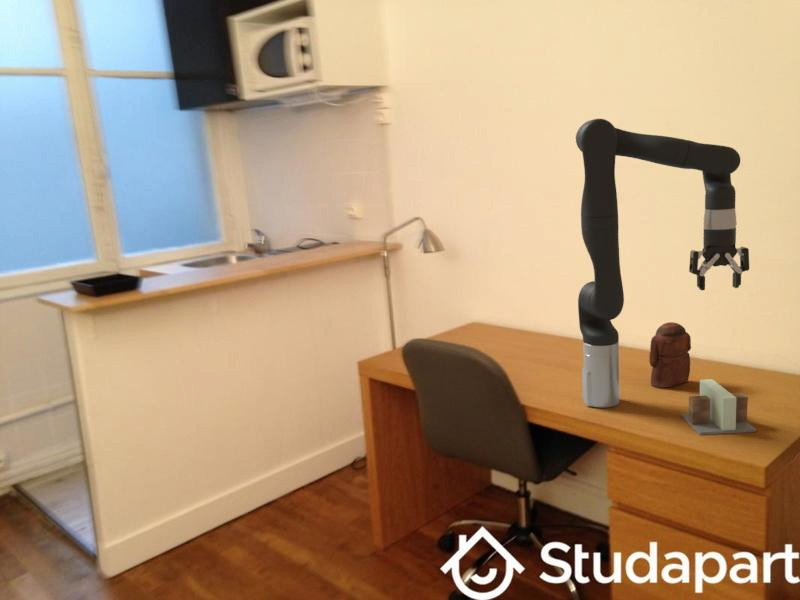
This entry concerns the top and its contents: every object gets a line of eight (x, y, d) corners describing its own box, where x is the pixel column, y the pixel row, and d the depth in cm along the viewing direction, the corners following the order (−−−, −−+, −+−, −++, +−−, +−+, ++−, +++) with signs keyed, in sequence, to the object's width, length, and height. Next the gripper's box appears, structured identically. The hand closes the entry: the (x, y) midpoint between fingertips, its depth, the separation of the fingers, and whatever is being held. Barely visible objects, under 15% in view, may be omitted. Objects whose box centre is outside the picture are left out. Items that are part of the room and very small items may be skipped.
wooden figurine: (675, 376, 205) (676, 317, 202) (692, 382, 200) (693, 321, 196) (645, 384, 201) (644, 324, 197) (661, 390, 195) (661, 328, 191)
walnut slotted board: (692, 424, 169) (692, 399, 167) (688, 421, 171) (688, 396, 170) (747, 421, 168) (747, 396, 167) (742, 418, 170) (743, 393, 169)
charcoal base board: (699, 434, 164) (699, 432, 164) (681, 416, 176) (681, 413, 176) (756, 431, 163) (756, 429, 163) (734, 413, 175) (734, 411, 175)
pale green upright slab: (722, 430, 164) (723, 398, 163) (699, 409, 178) (699, 379, 176) (735, 429, 164) (736, 397, 162) (711, 408, 178) (711, 379, 176)
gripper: (741, 223, 180) (740, 284, 183) (685, 226, 181) (685, 287, 184) (755, 225, 173) (753, 289, 176) (696, 229, 173) (696, 293, 177)
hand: (718, 288), depth 180 cm, fingers open, 8 cm apart
